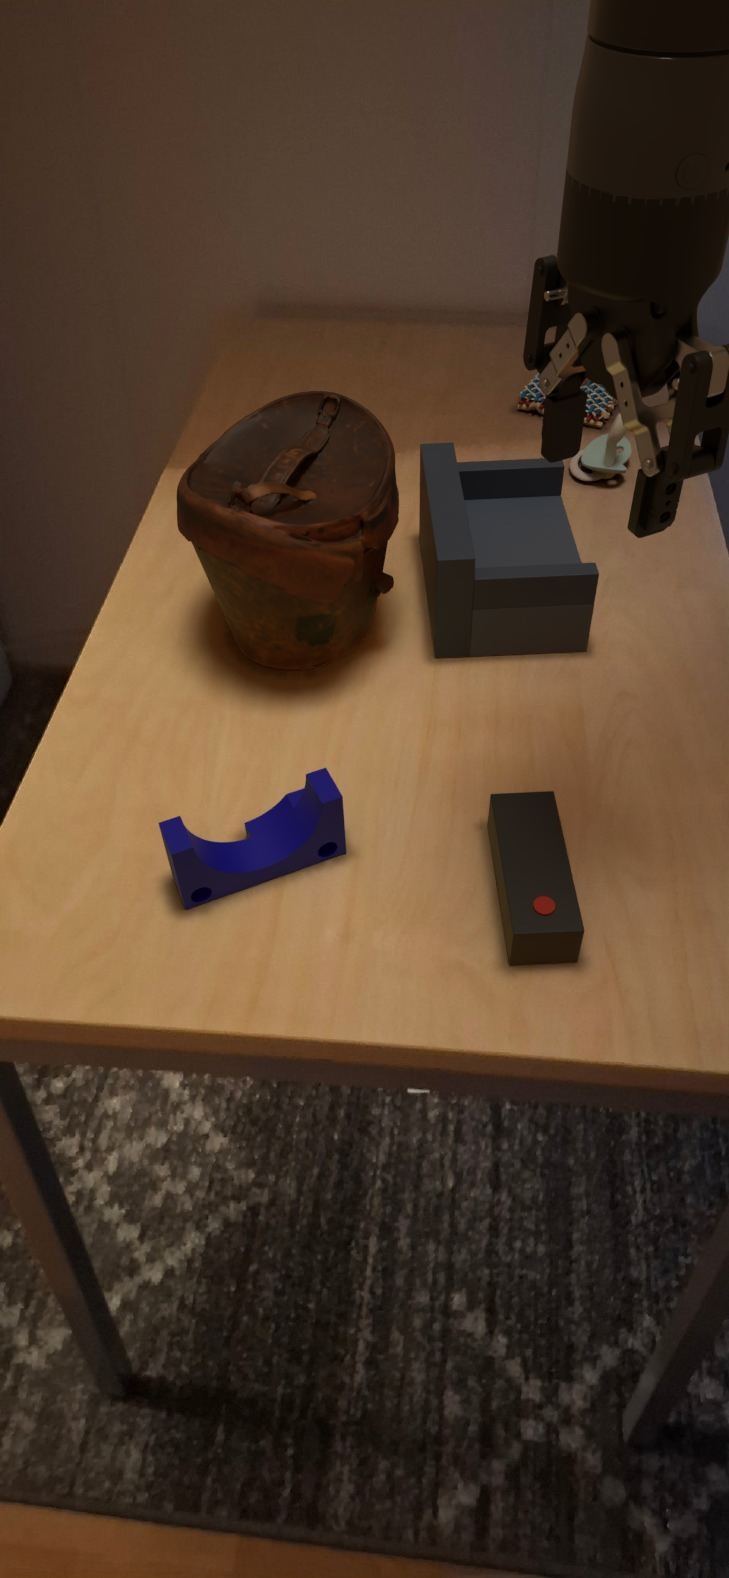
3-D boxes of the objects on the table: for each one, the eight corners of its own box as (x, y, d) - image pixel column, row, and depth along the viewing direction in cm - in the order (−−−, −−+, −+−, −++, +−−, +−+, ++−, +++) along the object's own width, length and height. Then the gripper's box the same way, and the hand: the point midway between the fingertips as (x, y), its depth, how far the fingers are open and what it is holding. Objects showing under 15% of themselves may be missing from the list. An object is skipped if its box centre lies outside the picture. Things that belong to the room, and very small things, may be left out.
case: (205, 717, 85) (168, 527, 72) (194, 573, 98) (161, 391, 85) (421, 689, 86) (424, 498, 73) (380, 552, 100) (377, 370, 87)
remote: (548, 822, 76) (554, 788, 73) (578, 961, 68) (585, 929, 65) (487, 825, 76) (490, 791, 73) (509, 965, 68) (513, 932, 65)
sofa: (552, 532, 101) (564, 437, 94) (586, 651, 89) (602, 552, 82) (419, 538, 101) (420, 443, 94) (434, 658, 89) (437, 560, 82)
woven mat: (511, 411, 118) (513, 394, 116) (547, 372, 124) (549, 355, 122) (600, 431, 114) (602, 414, 112) (632, 390, 120) (635, 373, 119)
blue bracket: (322, 810, 77) (317, 753, 73) (346, 852, 75) (342, 796, 70) (167, 863, 74) (152, 807, 70) (185, 909, 72) (171, 854, 67)
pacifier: (563, 485, 107) (622, 491, 106) (568, 428, 102) (630, 434, 101) (574, 450, 112) (631, 455, 110) (580, 394, 107) (639, 398, 106)
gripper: (837, 195, 42) (740, 541, 54) (631, 107, 51) (587, 420, 63) (683, 229, 40) (618, 580, 52) (496, 131, 49) (477, 449, 61)
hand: (601, 492), depth 57 cm, fingers open, 8 cm apart
